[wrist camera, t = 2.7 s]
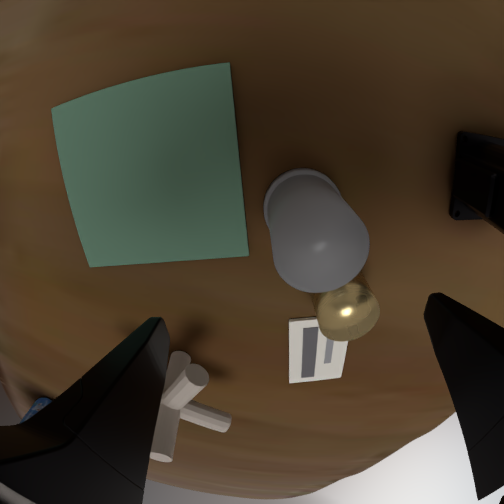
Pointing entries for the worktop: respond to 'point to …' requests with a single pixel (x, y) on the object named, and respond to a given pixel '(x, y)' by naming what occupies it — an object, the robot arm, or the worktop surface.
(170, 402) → the pipe connector
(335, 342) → the label tile
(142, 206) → the mat
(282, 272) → the cylinder
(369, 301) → the brass fitting
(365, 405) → the worktop surface
